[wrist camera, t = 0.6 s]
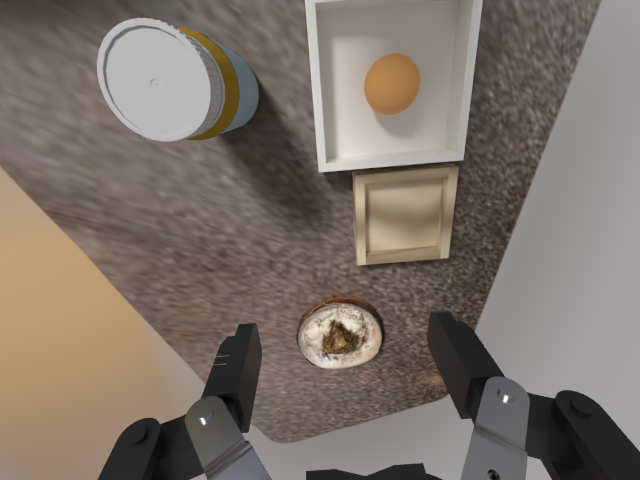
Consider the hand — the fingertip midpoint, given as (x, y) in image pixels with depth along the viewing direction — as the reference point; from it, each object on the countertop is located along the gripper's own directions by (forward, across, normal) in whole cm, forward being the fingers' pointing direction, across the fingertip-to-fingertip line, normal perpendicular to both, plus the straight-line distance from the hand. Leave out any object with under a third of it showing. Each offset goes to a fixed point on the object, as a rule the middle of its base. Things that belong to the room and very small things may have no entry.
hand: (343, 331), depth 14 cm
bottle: (+24, +9, -11) cm, 27 cm away
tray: (+23, -9, +4) cm, 25 cm away
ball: (+23, -7, -10) cm, 26 cm away
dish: (+23, -7, -10) cm, 26 cm away
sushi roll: (+23, -1, +21) cm, 32 cm away
